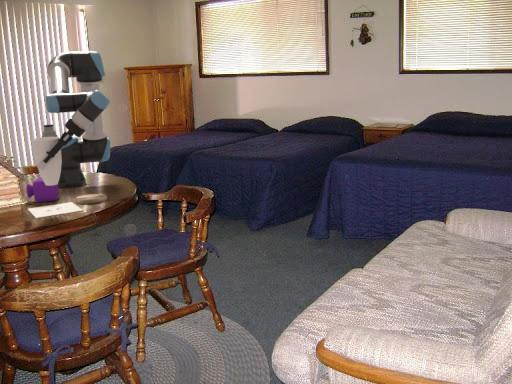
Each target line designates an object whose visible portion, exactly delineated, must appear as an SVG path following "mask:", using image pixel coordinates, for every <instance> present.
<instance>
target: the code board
mask: <svg viewBox="0 0 512 384" xmlns="http://www.w3.org/2000/svg"><path fill="white" fill-rule="evenodd" d="M27 210H28V212H29V213H31V215H32V216H33V217H34V218H36V219H40V218H46V217H53V216H59V215H64V214H70V213H71V214H72V213H78V212H83V211H84V210H83V209H82V208H81V207H80V206H78V205H77V204H75V203H74V202H73V201H70V202H64V203H57V204H51V205H43V206H38V207H37V206H36V207H29V208H27Z"/></svg>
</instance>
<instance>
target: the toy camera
mask: <svg viewBox="0 0 512 384" xmlns="http://www.w3.org/2000/svg"><path fill="white" fill-rule="evenodd" d="M59 189H60V188H58V184H57V185H52V186H47V185H45V183H44V181H43V179H42V177H39V178H36V179H34V181H33V183H32V184H30V183H27V184H26V187H25V193H26V195H27V198H28V199H31V198H32V197H33V196H34V201H35V202H36V203H47V202H56V201H57V200H58V198H59V196H60V190H59Z"/></svg>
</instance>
